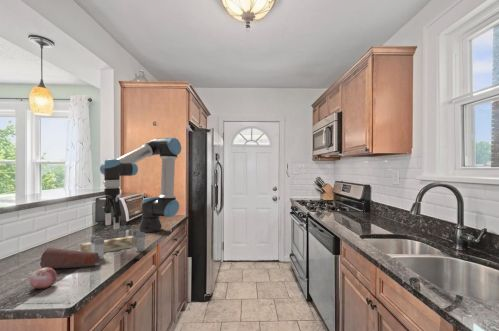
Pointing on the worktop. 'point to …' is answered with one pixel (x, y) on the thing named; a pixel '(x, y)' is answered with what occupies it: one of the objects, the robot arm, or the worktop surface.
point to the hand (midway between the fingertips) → (112, 226)
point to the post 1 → (97, 246)
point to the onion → (43, 278)
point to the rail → (110, 243)
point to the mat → (116, 248)
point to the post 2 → (138, 241)
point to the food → (68, 258)
